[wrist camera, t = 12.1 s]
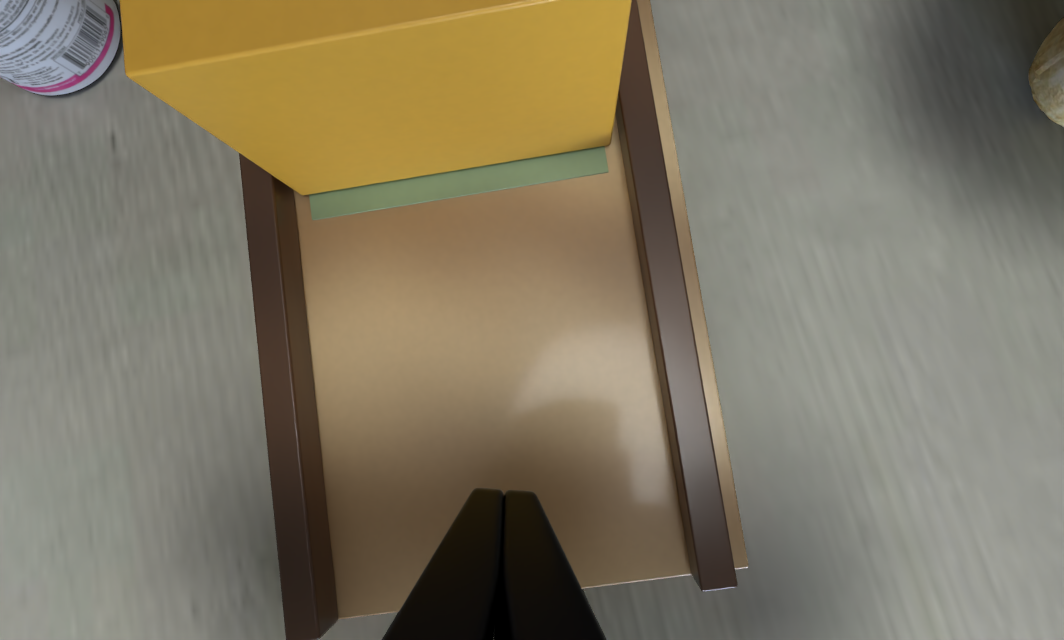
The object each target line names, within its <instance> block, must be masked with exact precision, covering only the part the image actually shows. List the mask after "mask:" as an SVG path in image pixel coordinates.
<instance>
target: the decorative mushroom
mask: <svg viewBox="0 0 1064 640" xmlns="http://www.w3.org/2000/svg"><path fill="white" fill-rule="evenodd" d="M1029 83H1030V86H1031V88H1032V95H1033V99H1034V101H1035V102H1036V104H1037V105H1038V107H1039V108H1040V110H1041V111H1043V112H1045V114H1046V115H1047V117H1048V118H1049V119H1050V120H1052V121H1054V122H1055V123H1057V124H1059V125H1061V126H1063V127H1064V17H1063V18H1062V19H1061V20H1060V21H1059V22H1058V23H1057V25H1056V26H1055V27H1054V28H1053V30H1052V31H1051V32H1050V33H1049V35H1048V36H1047V37H1046V39H1045V40H1044V41H1043V43H1042V44H1041V46H1040V48H1039V50H1038V52H1037V54H1036V56H1035V59H1034V61H1033V63H1032V65H1031V67H1030V69H1029Z"/></svg>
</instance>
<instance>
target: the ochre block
mask: <svg viewBox="0 0 1064 640" xmlns="http://www.w3.org/2000/svg"><path fill="white" fill-rule="evenodd" d="M631 3H632V0H120V11H121V24H122V37H123V50H124V63H125V73H126V75H127V77H129V78H130V79H131V80H133V81H134V82H136V83H137V84H139V85H140V86H142V87H143V88H145V89H146V90H148V91H149V92H151V93H152V94H154V95H155V96H156V97H158V98H159V99H161V100H162V101H164V102H165V103H167V104H168V105H170V106H171V107H173V108H174V109H176V110H177V111H179V112H180V113H181V114H183V115H184V116H186V117H187V118H189V119H190V120H192V121H193V122H195V123H196V124H198V125H199V126H201V127H202V128H204V129H205V130H206V131H208V132H209V133H211V134H212V135H214V136H215V137H217V138H218V139H220V140H221V141H223V142H224V143H226V144H227V145H229V146H230V147H231V148H233V149H234V150H236V151H237V152H239V153H240V154H242V155H243V156H245V157H246V158H248V159H249V160H251V161H252V162H254V163H255V164H256V165H258V166H259V167H261V168H262V169H264V170H265V171H267V172H268V173H270V174H271V175H273V176H274V177H276V178H277V179H279V180H280V181H281V182H283V183H284V184H286V185H287V186H289V187H290V188H292V189H293V190H295V191H296V192H298V193H299V194H301V195H309V194H315V193H321V192H327V191H333V190H339V189H345V188H351V187H357V186H364V185H370V184H376V183H382V182H388V181H394V180H400V179H406V178H412V177H418V176H424V175H430V174H436V173H442V172H449V171H455V170H461V169H467V168H473V167H479V166H485V165H491V164H497V163H503V162H509V161H515V160H521V159H527V158H534V157H540V156H546V155H552V154H558V153H564V152H570V151H576V150H582V149H588V148H594V147H600V146H606V145H610V144H611V139H612V132H613V125H614V118H615V111H616V105H617V98H618V91H619V84H620V77H621V71H622V64H623V57H624V50H625V43H626V37H627V30H628V23H629V16H630V9H631Z"/></svg>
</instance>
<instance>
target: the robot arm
mask: <svg viewBox="0 0 1064 640" xmlns="http://www.w3.org/2000/svg"><path fill="white" fill-rule="evenodd" d="M493 637H494V640H606V638H605V636H604V633H603V631H602V629H601V627H600V625H599V623H598V621H597V619H596V617H595V615H594V613H593V611H592V609H591V607H590V604H589V602H588V600H587V598H586V596H585V594H584V592H583V590H582V588H581V586H580V584H579V582H578V580H577V577H576V575H575V573H574V571H573V569H572V567H571V565H570V563H569V561H568V559H567V557H566V555H565V553H564V551H563V548H562V546H561V544H560V542H559V540H558V538H557V536H556V534H555V532H554V530H553V528H552V526H551V524H550V521H549V519H548V517H547V515H546V513H545V511H544V509H543V507H542V505H541V503H540V501H539V499H538V497H537V495H536V494H535V493H534V492H533V491H525V490H507V491H506V492H505V494H504V493H503V491H502V490H501V489H494V488H475V489H474V490H473V491H472V492H471V493H470V495H469V497H468V498H467V500H466V502H465V503H464V505H463V507H462V508H461V510H460V511H459V513H458V515H457V516H456V518H455V520H454V521H453V523H452V525H451V526H450V528H449V530H448V531H447V533H446V535H445V536H444V538H443V540H442V541H441V543H440V544H439V546H438V548H437V549H436V551H435V553H434V554H433V556H432V558H431V559H430V561H429V563H428V564H427V566H426V568H425V569H424V571H423V573H422V574H421V576H420V577H419V579H418V581H417V582H416V584H415V586H414V587H413V589H412V591H411V592H410V594H409V596H408V597H407V599H406V601H405V602H404V604H403V606H402V607H401V609H400V610H399V612H398V614H397V615H396V617H395V619H394V620H393V622H392V624H391V625H390V627H389V629H388V630H387V632H386V634H385V635H384V637H383V639H382V640H493Z"/></svg>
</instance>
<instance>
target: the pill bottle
mask: <svg viewBox="0 0 1064 640" xmlns="http://www.w3.org/2000/svg"><path fill="white" fill-rule="evenodd" d="M119 40H120V20H119V14H118V11H117V8H116V5H115V3H114V1H113V0H0V77H1V78H3V79H5V80H7V81H9V82H11V83H13V84H15V85H17V86H19V87H21V88H23V89H25V90H27V91H30V92H33V93H36V94H41V95H61V94H67V93H71V92H74V91H77V90H79V89H82V88H84V87H86V86H88V85H89V84H91V83H92V82H94V81H95V80H97V79H98V78H99V77H100V76H101V75H102V74H103V73H104V72H105V70H106V69H107V68H108V66H109V65H110V64H111V62H112V60H113V58H114V56H115V54H116V51H117V48H118V45H119Z"/></svg>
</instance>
